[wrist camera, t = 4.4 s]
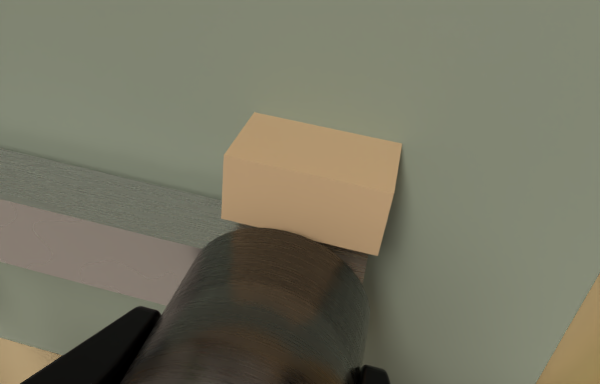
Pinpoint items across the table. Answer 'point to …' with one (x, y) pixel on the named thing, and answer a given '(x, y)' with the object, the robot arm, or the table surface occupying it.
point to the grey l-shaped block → (191, 276)
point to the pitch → (337, 154)
